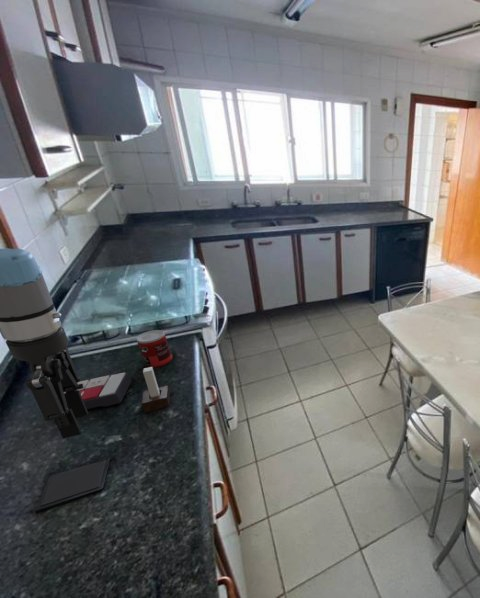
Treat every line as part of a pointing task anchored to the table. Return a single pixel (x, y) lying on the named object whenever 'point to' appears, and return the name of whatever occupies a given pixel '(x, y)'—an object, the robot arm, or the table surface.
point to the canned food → (154, 348)
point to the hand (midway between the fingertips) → (76, 425)
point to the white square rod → (151, 382)
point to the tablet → (73, 485)
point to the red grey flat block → (104, 390)
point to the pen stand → (156, 400)
